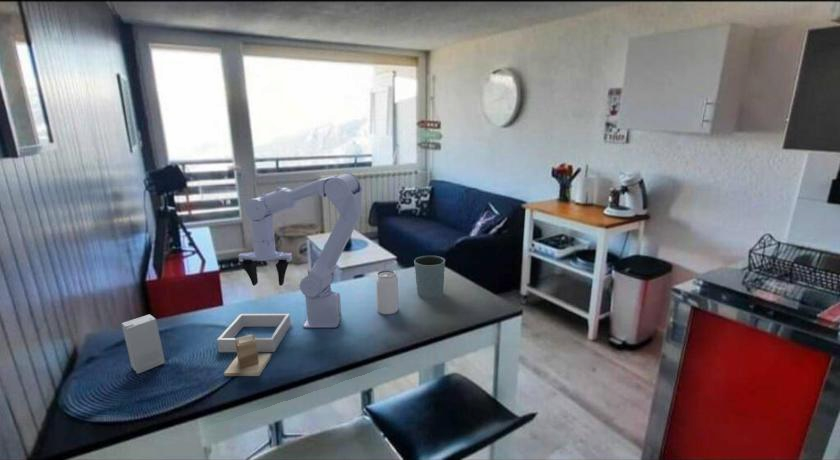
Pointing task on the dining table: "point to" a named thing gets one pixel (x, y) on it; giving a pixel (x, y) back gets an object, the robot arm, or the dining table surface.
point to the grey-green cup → (429, 276)
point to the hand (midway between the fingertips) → (268, 284)
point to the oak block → (246, 351)
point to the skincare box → (143, 343)
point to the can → (387, 292)
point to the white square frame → (246, 320)
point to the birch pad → (248, 371)
